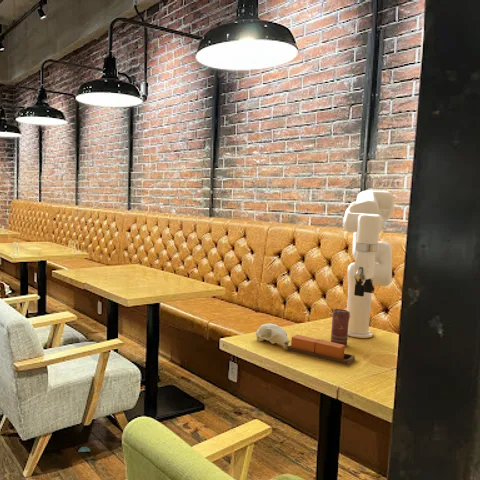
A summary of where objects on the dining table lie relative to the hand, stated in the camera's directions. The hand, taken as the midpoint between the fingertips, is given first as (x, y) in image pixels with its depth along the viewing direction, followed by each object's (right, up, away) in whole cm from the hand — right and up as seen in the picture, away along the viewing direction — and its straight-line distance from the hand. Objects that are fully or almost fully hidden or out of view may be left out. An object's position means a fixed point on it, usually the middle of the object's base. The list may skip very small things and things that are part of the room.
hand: (363, 294), depth 180 cm
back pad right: (-14, -23, -3) cm, 27 cm away
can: (-4, -22, +15) cm, 27 cm away
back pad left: (-21, -22, +3) cm, 30 cm away
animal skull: (-31, -21, +11) cm, 39 cm away
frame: (-16, -23, -1) cm, 28 cm away
